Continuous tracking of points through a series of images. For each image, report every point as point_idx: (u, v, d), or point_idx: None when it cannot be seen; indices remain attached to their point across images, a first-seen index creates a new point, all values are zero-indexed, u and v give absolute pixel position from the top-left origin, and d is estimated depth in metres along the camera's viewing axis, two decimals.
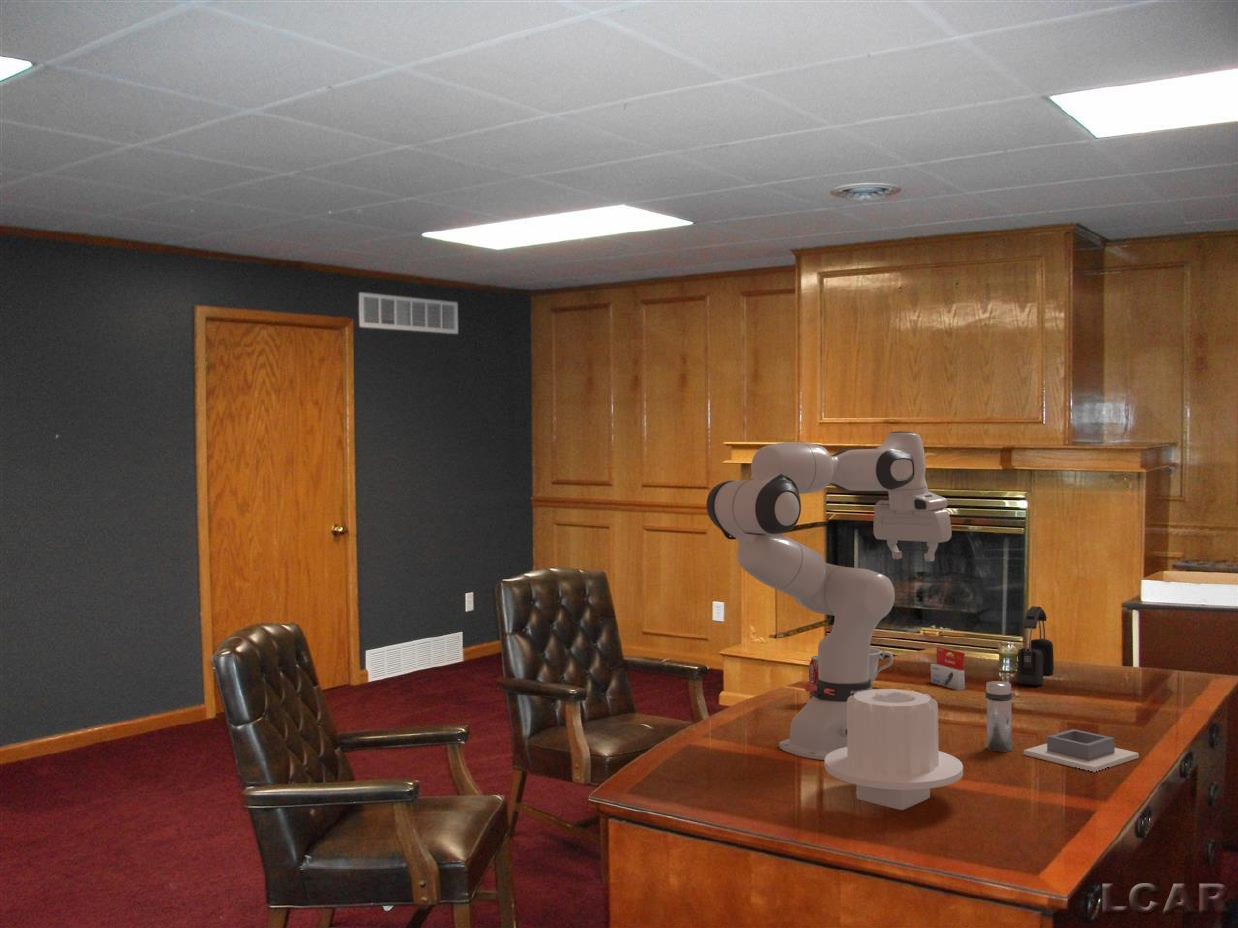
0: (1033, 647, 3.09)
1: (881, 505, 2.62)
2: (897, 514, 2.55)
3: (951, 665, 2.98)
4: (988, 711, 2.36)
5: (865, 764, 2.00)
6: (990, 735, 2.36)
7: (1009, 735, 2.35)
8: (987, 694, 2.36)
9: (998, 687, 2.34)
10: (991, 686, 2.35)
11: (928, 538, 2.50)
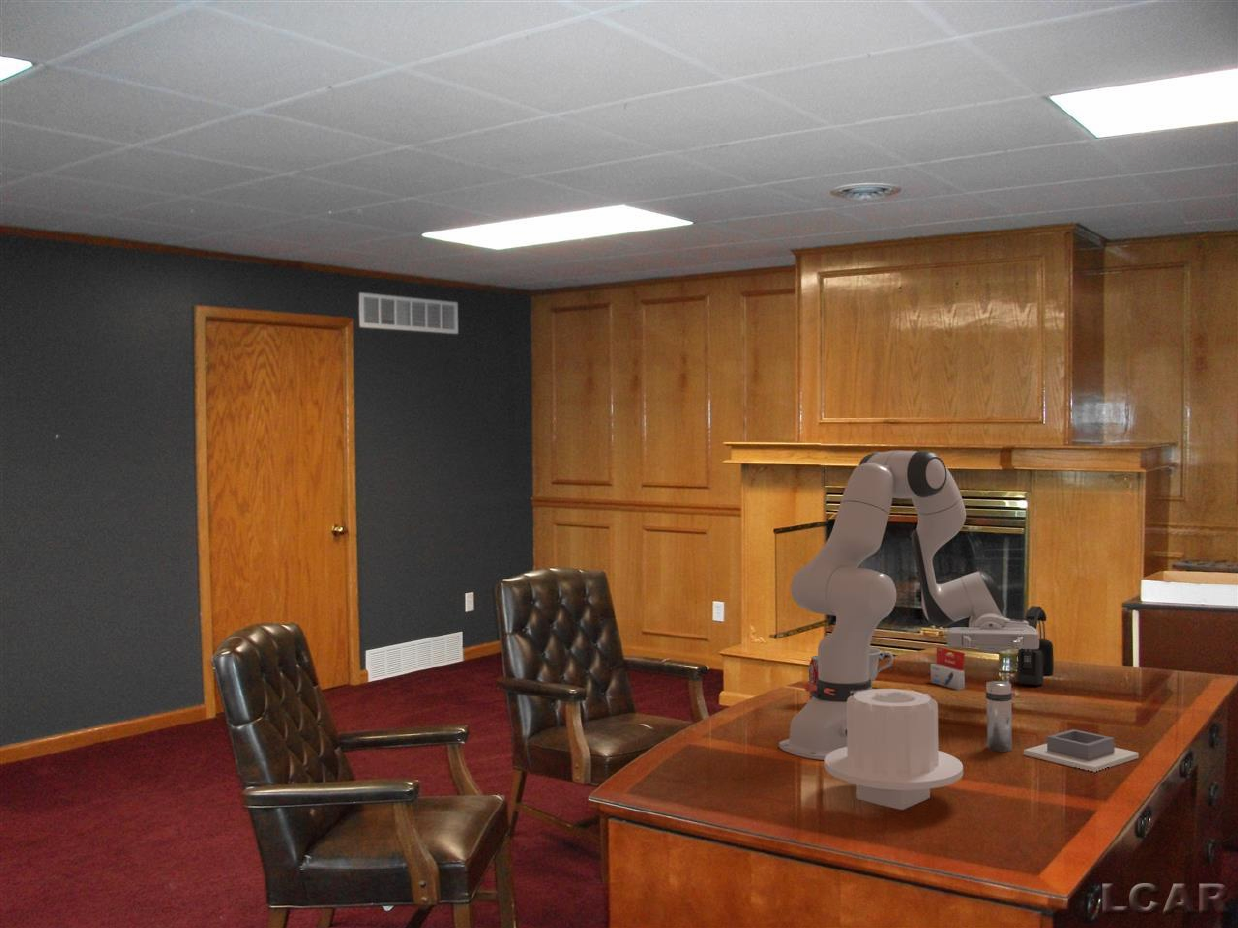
0: None
1: None
2: (985, 623, 2.59)
3: (951, 665, 2.98)
4: (988, 711, 2.36)
5: (865, 764, 2.00)
6: (990, 735, 2.36)
7: (1009, 735, 2.35)
8: (987, 694, 2.36)
9: (998, 687, 2.34)
10: (991, 686, 2.35)
11: (1021, 632, 2.52)
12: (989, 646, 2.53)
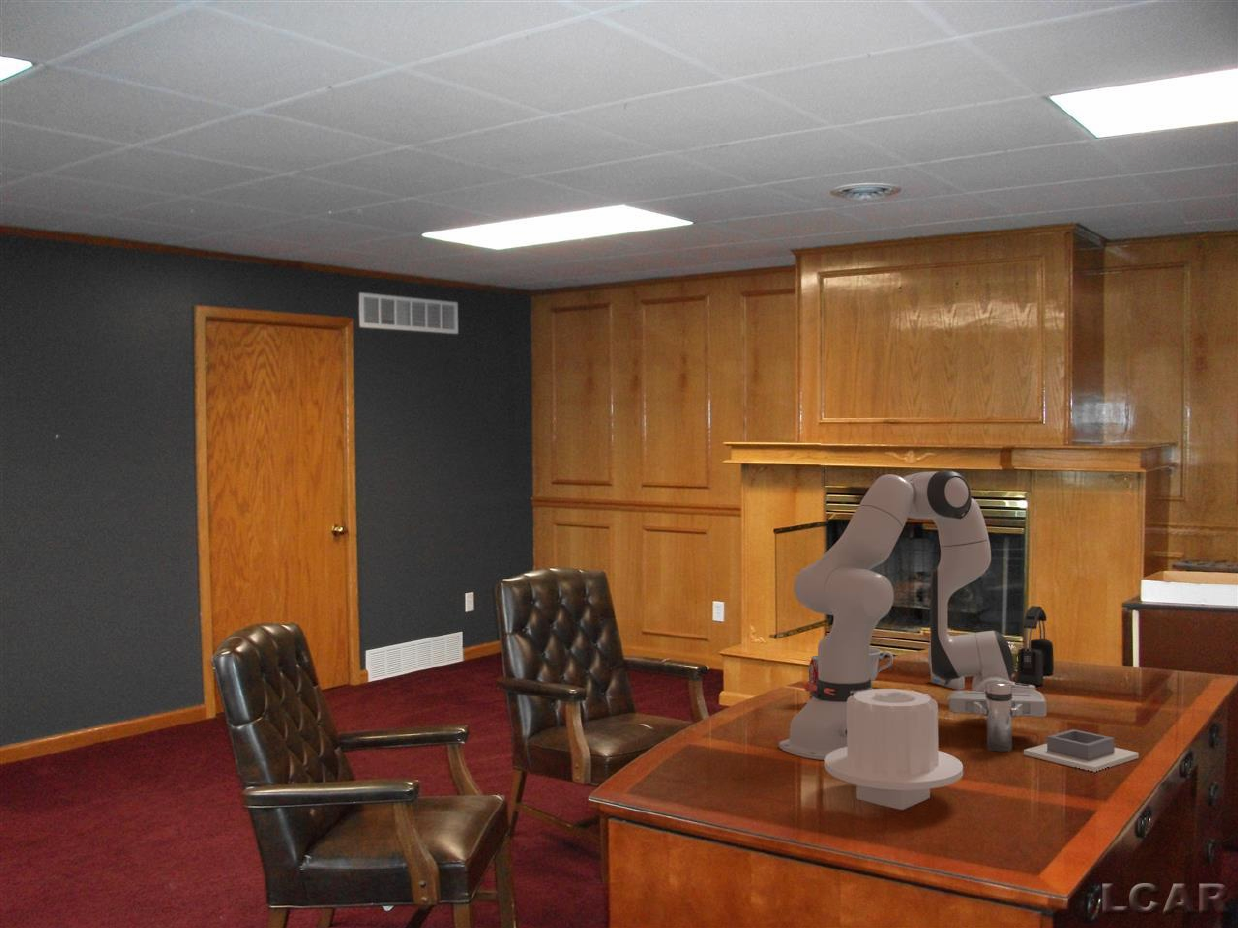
0: (1033, 647, 3.09)
1: None
2: None
3: None
4: (988, 711, 2.36)
5: (865, 764, 2.00)
6: (990, 735, 2.36)
7: (1009, 735, 2.35)
8: (987, 694, 2.36)
9: (998, 687, 2.34)
10: (991, 686, 2.35)
11: (1027, 699, 2.39)
12: None
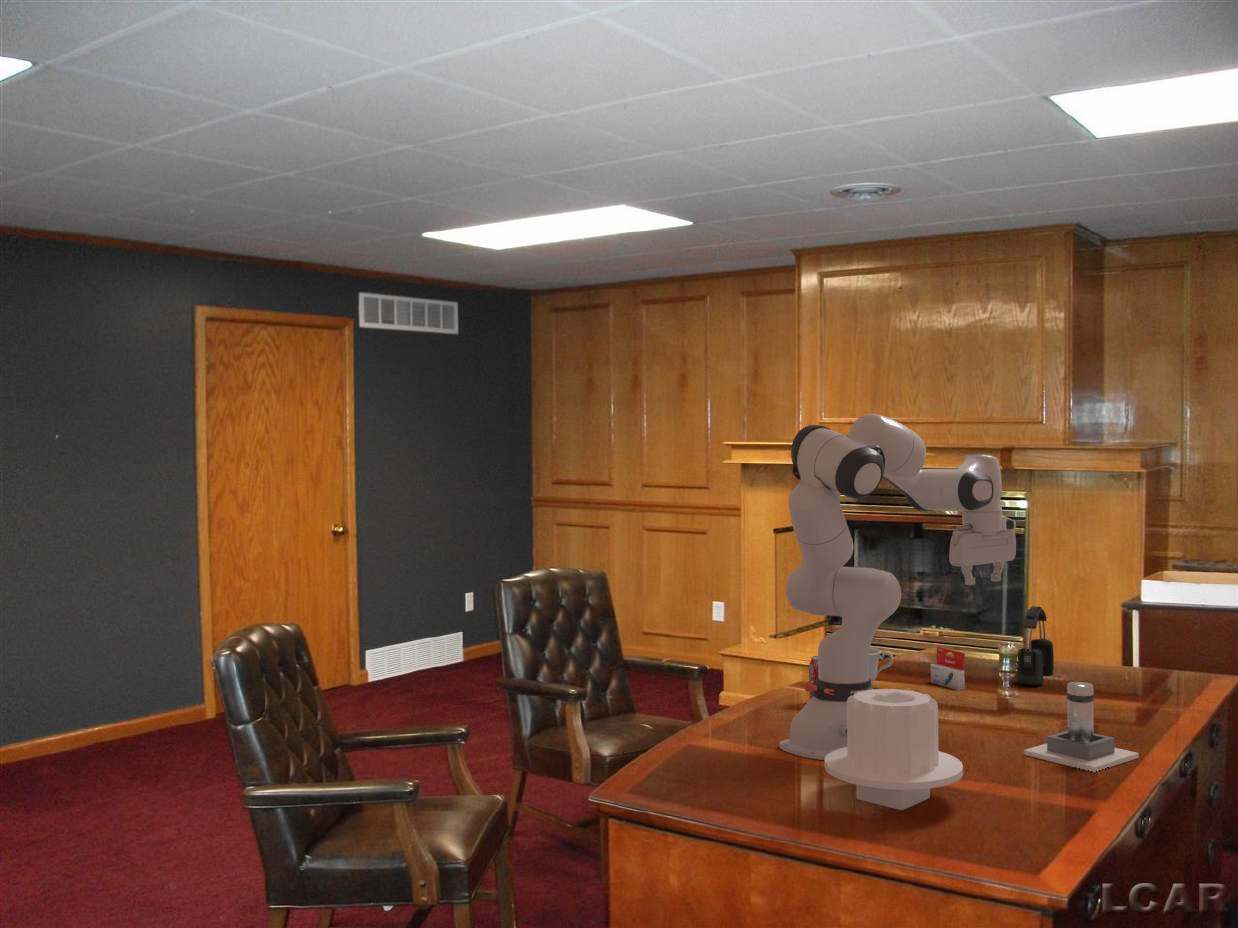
0: (1033, 647, 3.09)
1: (960, 530, 2.50)
2: (989, 536, 2.52)
3: (951, 665, 2.98)
4: (1069, 713, 2.29)
5: (865, 764, 2.00)
6: (1071, 738, 2.29)
7: (1091, 737, 2.28)
8: (1069, 695, 2.29)
9: (1081, 688, 2.27)
10: (1073, 687, 2.28)
11: (1006, 557, 2.58)
12: None
